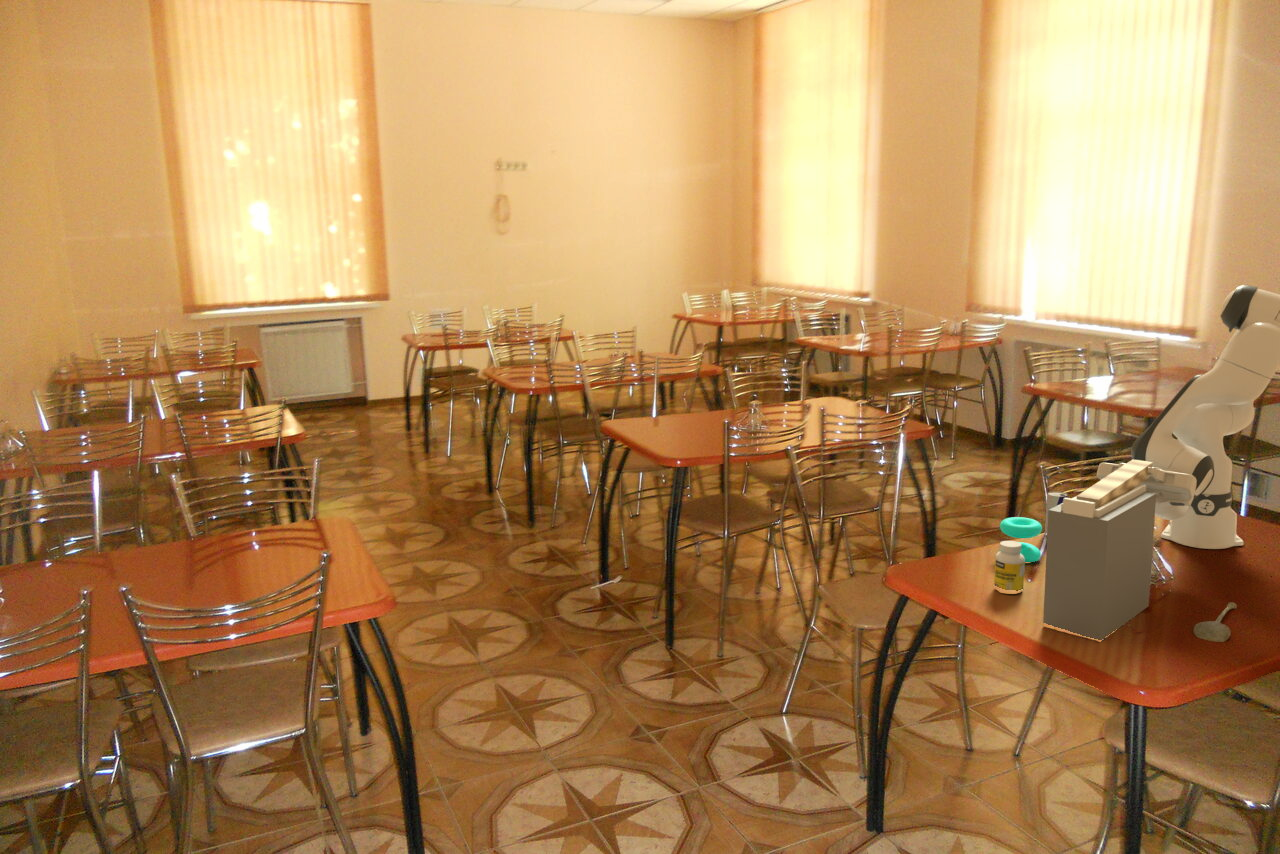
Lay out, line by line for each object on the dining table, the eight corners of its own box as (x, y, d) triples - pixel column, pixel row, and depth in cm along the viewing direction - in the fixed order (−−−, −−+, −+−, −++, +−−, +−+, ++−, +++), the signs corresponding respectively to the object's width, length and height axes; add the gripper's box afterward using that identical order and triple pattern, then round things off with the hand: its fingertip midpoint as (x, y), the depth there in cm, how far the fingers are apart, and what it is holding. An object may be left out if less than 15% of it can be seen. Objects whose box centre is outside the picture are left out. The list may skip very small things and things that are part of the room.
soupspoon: (1188, 641, 200) (1224, 651, 196) (1190, 626, 199) (1226, 635, 195) (1215, 605, 216) (1249, 613, 211) (1217, 591, 215) (1251, 599, 211)
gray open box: (1093, 593, 225) (1100, 471, 219) (1148, 606, 216) (1157, 479, 210) (1043, 627, 207) (1049, 496, 201) (1100, 642, 199) (1108, 506, 193)
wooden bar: (1131, 472, 221) (1132, 459, 220) (1152, 475, 218) (1153, 462, 217) (1076, 509, 201) (1076, 496, 201) (1098, 513, 198) (1098, 499, 198)
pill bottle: (987, 589, 229) (989, 542, 227) (1007, 583, 232) (1009, 537, 230) (1009, 598, 224) (1011, 550, 221) (1029, 592, 227) (1031, 544, 224)
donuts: (1049, 521, 246) (1029, 530, 240) (1048, 558, 248) (1027, 568, 242) (1013, 513, 254) (992, 521, 248) (1011, 549, 256) (991, 559, 250)
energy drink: (1068, 539, 262) (1070, 496, 259) (1047, 539, 263) (1049, 496, 261) (1063, 533, 267) (1066, 491, 265) (1043, 533, 268) (1045, 491, 266)
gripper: (1110, 467, 234) (1091, 448, 224) (1204, 481, 219) (1188, 461, 210) (1104, 492, 233) (1085, 474, 223) (1198, 507, 218) (1181, 488, 209)
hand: (1135, 468), depth 216 cm, fingers closed on wooden bar, 4 cm apart
